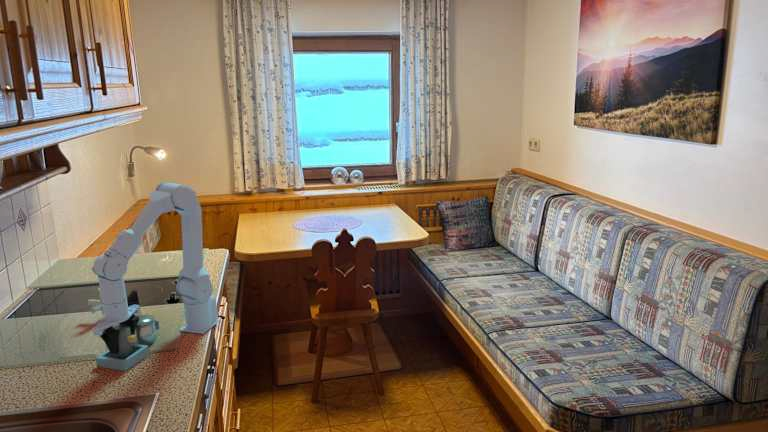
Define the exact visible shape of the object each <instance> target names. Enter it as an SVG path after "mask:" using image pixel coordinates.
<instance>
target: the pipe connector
mask: <svg viewBox="0 0 768 432" xmlns="http://www.w3.org/2000/svg"><path fill="white" fill-rule="evenodd" d="M97 290H98V297H99V299H92V298H91V299H88V300H87V305H88V306H92V307H90V308H89V311H90V313H92V314H95V313H97V312H98V311H99V310H101V314H102V316H103V315H104V310H103V304H102V298H101V292H100V287H99V288H97Z"/></svg>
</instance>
